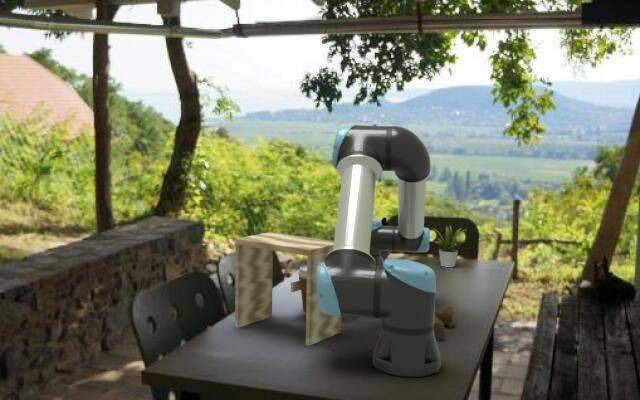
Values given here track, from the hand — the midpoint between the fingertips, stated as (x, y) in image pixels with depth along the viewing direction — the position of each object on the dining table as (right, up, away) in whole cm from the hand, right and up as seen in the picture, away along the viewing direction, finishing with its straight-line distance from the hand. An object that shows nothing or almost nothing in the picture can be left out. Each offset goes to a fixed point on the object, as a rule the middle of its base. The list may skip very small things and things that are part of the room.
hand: (305, 289), depth 185 cm
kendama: (+34, -11, -2) cm, 36 cm away
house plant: (+54, -2, +77) cm, 94 cm away
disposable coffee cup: (+3, -7, +5) cm, 9 cm away
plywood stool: (-4, -10, -6) cm, 12 cm away
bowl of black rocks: (+21, -1, +75) cm, 78 cm away
